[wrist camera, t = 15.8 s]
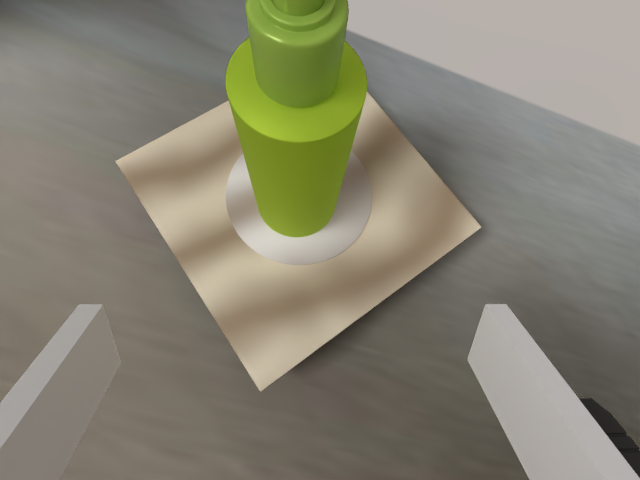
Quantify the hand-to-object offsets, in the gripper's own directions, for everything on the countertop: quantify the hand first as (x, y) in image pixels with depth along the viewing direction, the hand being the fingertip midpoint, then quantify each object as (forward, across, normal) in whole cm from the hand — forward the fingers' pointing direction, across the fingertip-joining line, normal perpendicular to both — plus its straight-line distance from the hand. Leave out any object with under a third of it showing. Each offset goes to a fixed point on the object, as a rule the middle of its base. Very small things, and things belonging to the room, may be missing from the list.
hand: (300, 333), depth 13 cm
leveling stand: (+20, 0, -5) cm, 21 cm away
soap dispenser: (+16, 0, -2) cm, 16 cm away
